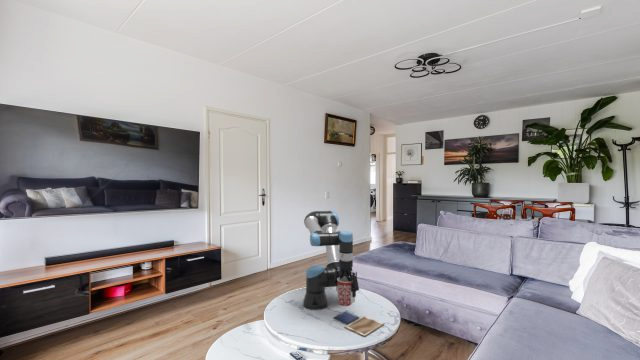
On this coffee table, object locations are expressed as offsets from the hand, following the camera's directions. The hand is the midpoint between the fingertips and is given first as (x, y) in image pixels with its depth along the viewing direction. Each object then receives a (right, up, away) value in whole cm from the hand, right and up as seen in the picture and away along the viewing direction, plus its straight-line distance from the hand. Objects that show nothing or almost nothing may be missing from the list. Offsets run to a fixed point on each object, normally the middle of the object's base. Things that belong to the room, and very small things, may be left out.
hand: (345, 299), depth 161 cm
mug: (0, -2, 0) cm, 2 cm away
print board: (+9, -10, -9) cm, 16 cm away
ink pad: (0, -10, -1) cm, 10 cm away
